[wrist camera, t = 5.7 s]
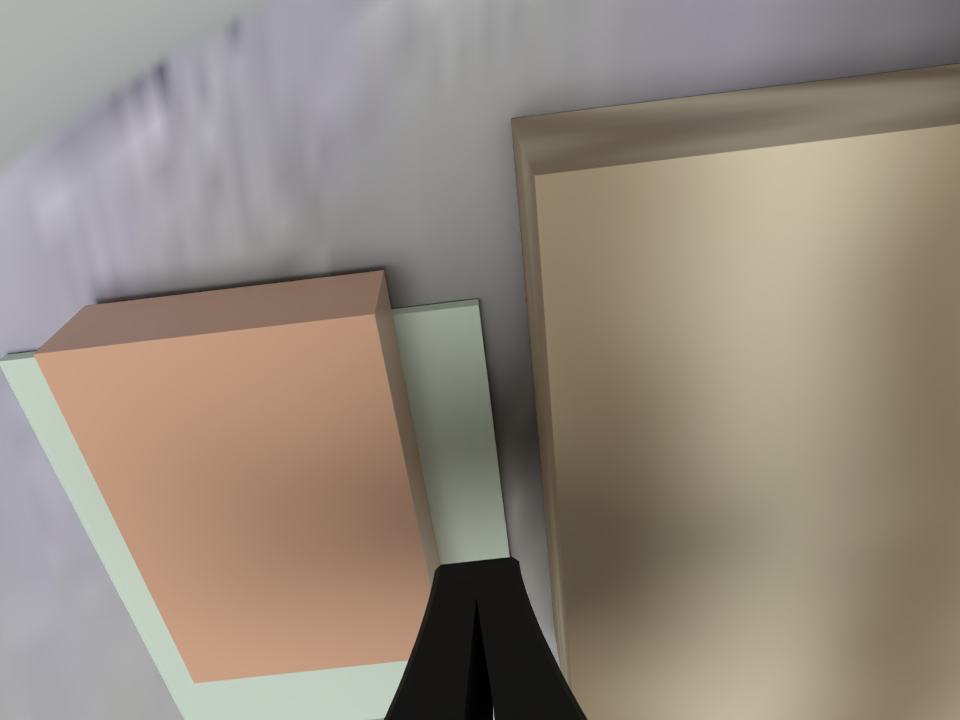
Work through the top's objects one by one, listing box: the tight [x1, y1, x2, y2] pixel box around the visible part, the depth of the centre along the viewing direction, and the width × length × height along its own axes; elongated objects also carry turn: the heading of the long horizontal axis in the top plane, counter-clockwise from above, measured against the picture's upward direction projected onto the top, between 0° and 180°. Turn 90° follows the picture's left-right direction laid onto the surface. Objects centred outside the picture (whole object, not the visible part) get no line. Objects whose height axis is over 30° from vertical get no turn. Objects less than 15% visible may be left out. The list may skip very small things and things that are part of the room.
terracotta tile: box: [33, 270, 440, 683], centre depth 15 cm, size 6×9×2 cm, turn 6°
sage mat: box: [0, 299, 510, 720], centre depth 18 cm, size 10×13×1 cm
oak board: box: [511, 64, 960, 720], centre depth 14 cm, size 14×14×4 cm
